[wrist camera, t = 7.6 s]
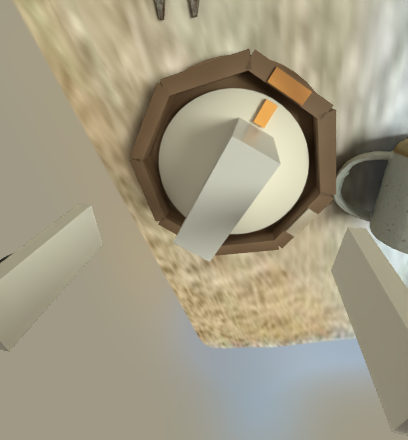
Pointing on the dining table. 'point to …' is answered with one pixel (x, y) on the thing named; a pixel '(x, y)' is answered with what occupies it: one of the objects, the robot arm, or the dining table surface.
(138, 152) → the dial housing
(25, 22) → the dining table surface
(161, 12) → the pliers
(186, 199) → the dial
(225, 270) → the dining table surface
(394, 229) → the ceramic mug
